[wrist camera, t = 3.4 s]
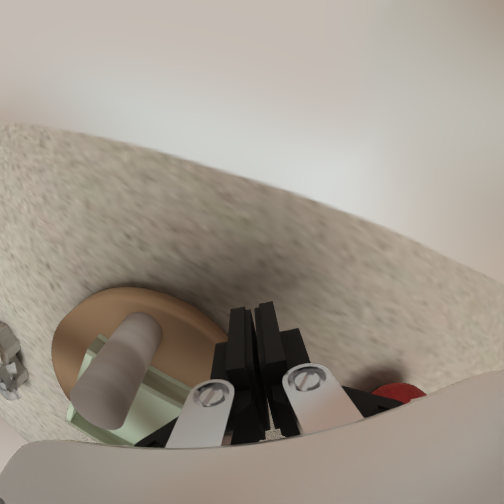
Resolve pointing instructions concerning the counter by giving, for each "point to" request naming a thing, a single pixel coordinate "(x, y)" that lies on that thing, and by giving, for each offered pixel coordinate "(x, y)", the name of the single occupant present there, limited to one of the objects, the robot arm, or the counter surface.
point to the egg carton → (10, 365)
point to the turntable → (131, 361)
